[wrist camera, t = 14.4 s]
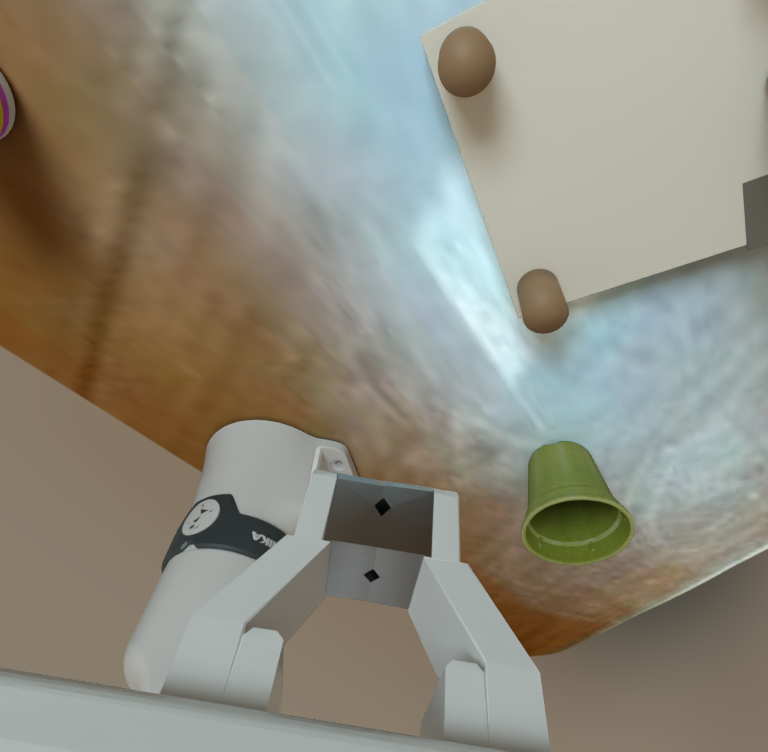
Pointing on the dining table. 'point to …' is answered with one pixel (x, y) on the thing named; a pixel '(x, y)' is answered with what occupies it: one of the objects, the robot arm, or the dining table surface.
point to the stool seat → (607, 137)
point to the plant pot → (572, 508)
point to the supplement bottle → (6, 107)
